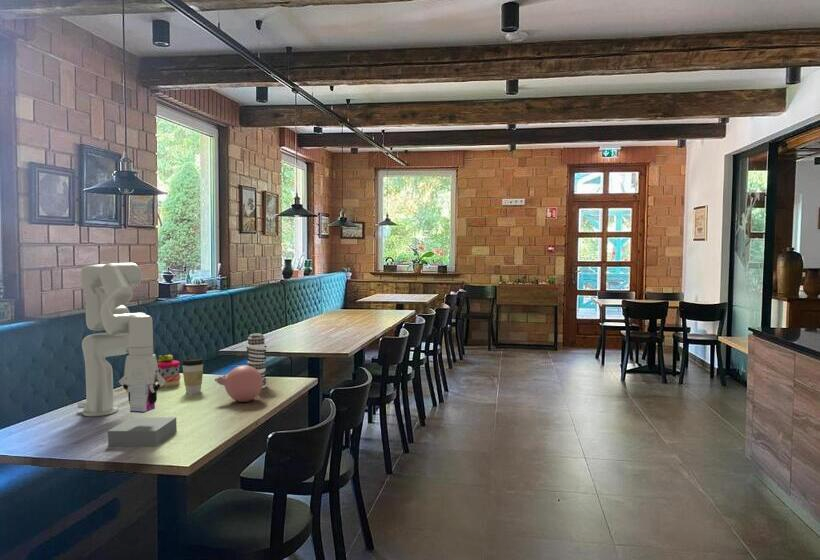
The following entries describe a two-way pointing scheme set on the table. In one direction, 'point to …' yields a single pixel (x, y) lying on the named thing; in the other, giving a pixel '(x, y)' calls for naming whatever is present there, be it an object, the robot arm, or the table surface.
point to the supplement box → (140, 398)
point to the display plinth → (142, 431)
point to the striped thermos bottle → (257, 354)
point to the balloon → (242, 383)
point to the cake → (169, 370)
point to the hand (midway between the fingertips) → (142, 402)
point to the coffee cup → (193, 374)
